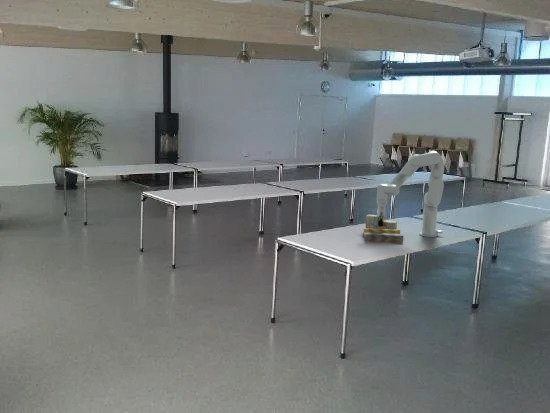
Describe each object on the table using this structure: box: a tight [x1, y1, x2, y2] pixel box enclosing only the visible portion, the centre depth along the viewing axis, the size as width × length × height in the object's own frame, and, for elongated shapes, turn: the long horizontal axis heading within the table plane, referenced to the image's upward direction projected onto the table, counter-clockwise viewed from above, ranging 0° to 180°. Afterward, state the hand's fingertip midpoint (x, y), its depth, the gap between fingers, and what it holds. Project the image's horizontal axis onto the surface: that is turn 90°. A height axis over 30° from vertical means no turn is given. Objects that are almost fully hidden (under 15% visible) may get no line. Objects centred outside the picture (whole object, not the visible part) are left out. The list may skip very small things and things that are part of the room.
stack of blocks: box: [365, 214, 398, 230], centre depth 389 cm, size 21×6×12 cm, turn 63°
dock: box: [363, 227, 404, 244], centre depth 370 cm, size 25×19×5 cm
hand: (379, 224), depth 389 cm, fingers open, 9 cm apart
